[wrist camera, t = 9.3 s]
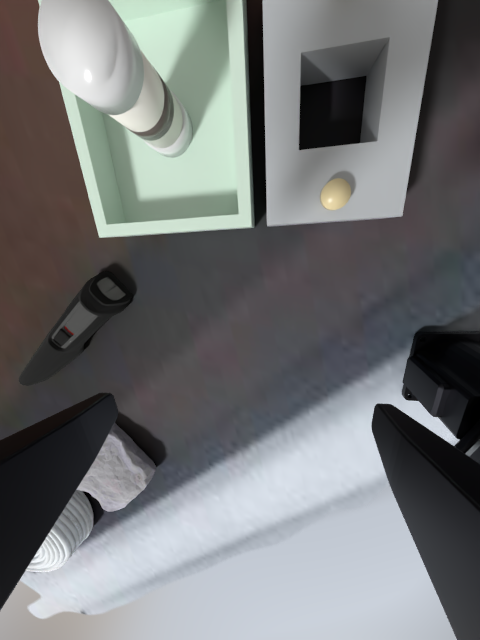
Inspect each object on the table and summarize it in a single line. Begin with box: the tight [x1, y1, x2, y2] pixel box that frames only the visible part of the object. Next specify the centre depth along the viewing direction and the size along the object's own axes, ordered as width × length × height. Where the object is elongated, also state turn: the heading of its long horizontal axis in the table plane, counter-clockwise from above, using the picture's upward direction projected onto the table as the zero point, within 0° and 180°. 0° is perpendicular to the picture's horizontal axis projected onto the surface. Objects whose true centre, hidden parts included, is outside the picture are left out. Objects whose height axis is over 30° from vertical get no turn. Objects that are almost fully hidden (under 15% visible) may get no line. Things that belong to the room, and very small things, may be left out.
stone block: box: [77, 423, 156, 511], centre depth 28 cm, size 12×5×10 cm
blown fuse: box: [38, 0, 193, 158], centre depth 12 cm, size 3×3×8 cm
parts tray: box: [38, 0, 255, 237], centre depth 15 cm, size 11×13×3 cm
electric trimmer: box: [19, 271, 132, 386], centre depth 22 cm, size 4×16×3 cm, turn 131°
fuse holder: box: [263, 0, 438, 227], centre depth 13 cm, size 8×12×4 cm, turn 3°
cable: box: [26, 490, 93, 572], centre depth 33 cm, size 18×18×6 cm
